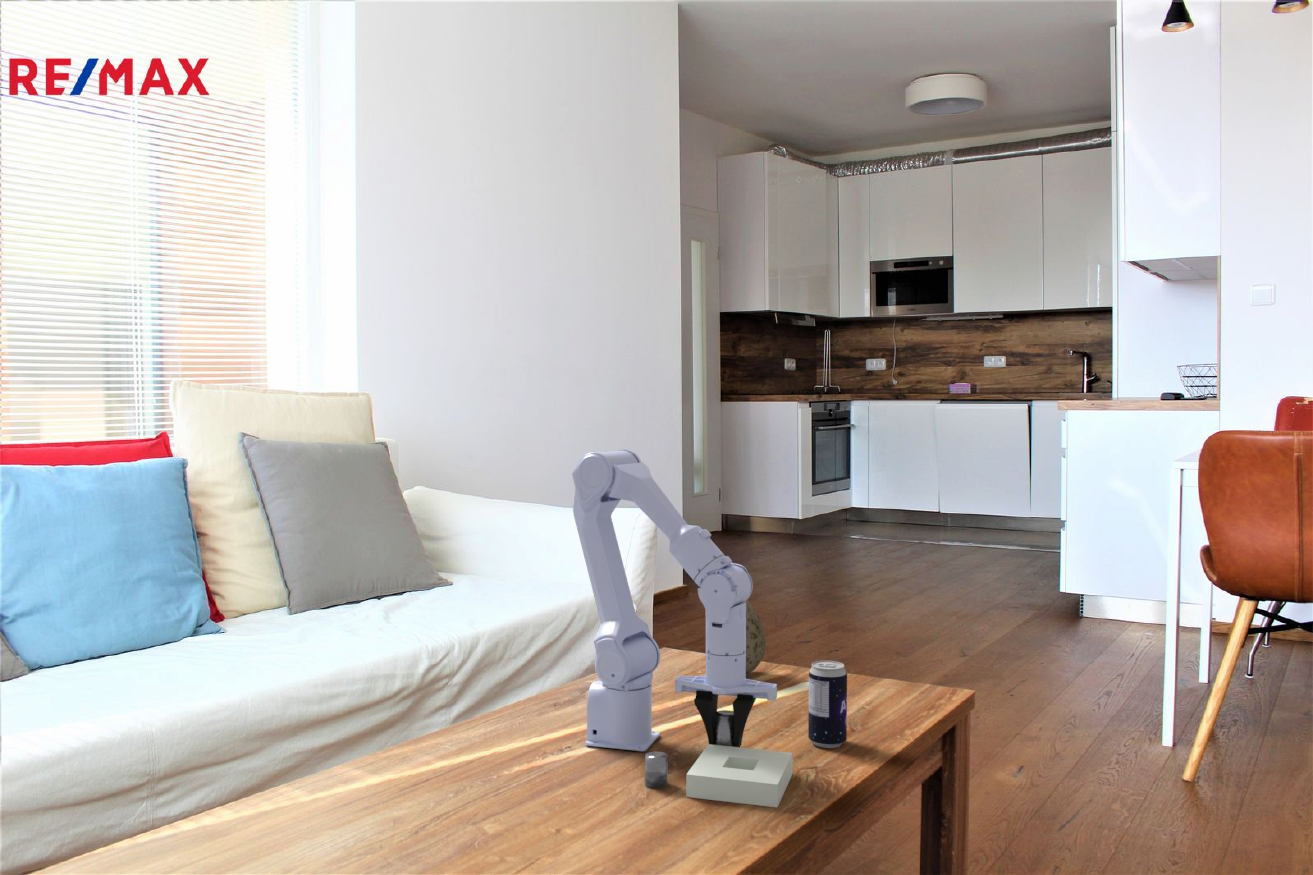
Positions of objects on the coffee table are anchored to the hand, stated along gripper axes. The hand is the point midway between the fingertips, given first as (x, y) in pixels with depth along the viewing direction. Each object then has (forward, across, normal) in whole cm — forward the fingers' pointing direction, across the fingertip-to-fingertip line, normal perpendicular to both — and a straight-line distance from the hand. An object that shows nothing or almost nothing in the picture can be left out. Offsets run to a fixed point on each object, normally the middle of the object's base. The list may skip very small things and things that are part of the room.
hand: (725, 745), depth 147 cm
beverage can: (+3, +13, +12) cm, 18 cm away
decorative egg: (+3, -8, +44) cm, 45 cm away
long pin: (+2, 0, 0) cm, 2 cm away
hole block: (+2, +4, -8) cm, 9 cm away
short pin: (+2, -7, -11) cm, 13 cm away
